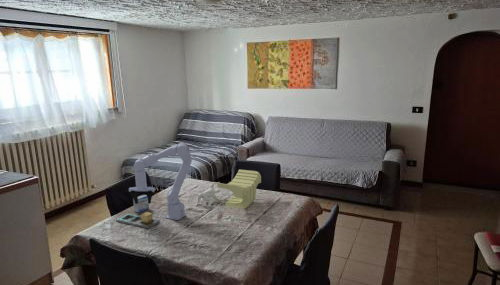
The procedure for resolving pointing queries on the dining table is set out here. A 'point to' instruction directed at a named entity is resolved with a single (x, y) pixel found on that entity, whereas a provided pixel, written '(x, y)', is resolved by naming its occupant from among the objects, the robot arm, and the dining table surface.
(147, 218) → the mustard tan rectangular block
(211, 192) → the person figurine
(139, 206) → the medicine box
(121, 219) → the grey grid frame
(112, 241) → the dining table surface
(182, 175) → the robot arm
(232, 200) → the slatted curved stool
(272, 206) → the dining table surface
